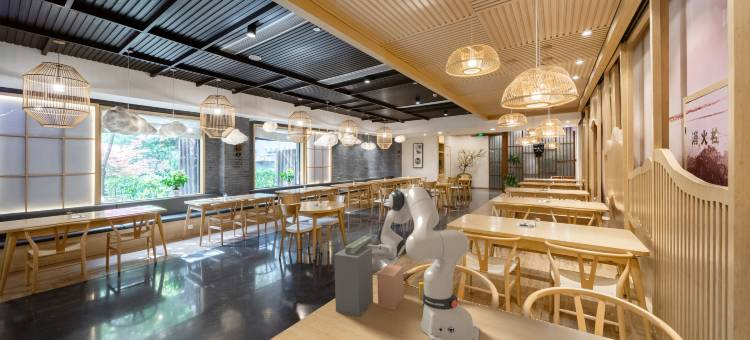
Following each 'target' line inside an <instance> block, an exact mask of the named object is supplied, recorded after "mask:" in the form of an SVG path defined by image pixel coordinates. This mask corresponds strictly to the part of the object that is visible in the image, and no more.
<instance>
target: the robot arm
mask: <svg viewBox="0 0 750 340" xmlns="http://www.w3.org/2000/svg"><path fill="white" fill-rule="evenodd" d="M388 206H389V207H390V209H388V210H387V212H386V213H385V215H384V217H383V221H382V223H381V226H380V229H379V230H378V232H377V241H378V242H380V243H381V244H377V245H375V244H369V245H367V246H366V248H372V255H374V257H375V259H376V260H378V261H380V262H382V263H383V264H386V265H388V264H390V265H394V264H395V263H396V262H397V260H398V258H399V257H400V256H401V255H402V254H403V253H404V251H406V254H407V256H408V257H409V258H410V259H411V260H413V261H419V262H427V261H428V262H429V261H433V263H432V264H431V265H430V266H429V267H427V268H426V269H425V271H424V272H423V282H424V291H423V300H422V305H423V312H422V317H421V318H422V319H421V322H420V329H421V331H423V333H425V334H426V335H427V336H428V338H429V340H479V339H480V329H479V326H478V325H477V324H476V323H475V322H473V317H472V315H471V313H470V312H469V311H468V310H467V309H465V308H464V307H463V306H462V305H460V304H459V302H458V294H454V292H453V293H452V282H453V279H454V273H455V269H456V267H457V265H458V263H459V262H460V260H461V259H462V258H463V256H464V255H466V254H467V253H468V251H469V247H470V246H469V245H470V244H469V243H470V242H469V238H468V237H467V235H466V233H464V232H463V231H462V230H457V229H456V230H454V229H444V230H443V229H441V230H434V228H436V226H437V225H438V224H439V222H440V215H439V212H438V210H437V207H436V205H435V203H434V201H433V195H432V192H431V191H430V190H429V189H427V188H424V187H423V186H414V187H412V188H404V189H394V190H392V191H390V193H389V195H388ZM411 218H412V221H413V225H414V227H413V230H412V232H411V233H410V234H409V235H408V237H407V239H406V240H405V239H404V238H403V237H402V236H401V235H399V234H397V233H396V232H395V231H393V229H392V228H391V227H392V223H394V224H397V225H398V224H399V225H400V224H402V225H403V224H406V223H407V222H409V221H410V219H411Z"/></svg>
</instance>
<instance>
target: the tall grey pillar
mask: <svg viewBox="0 0 750 340" xmlns="http://www.w3.org/2000/svg"><path fill="white" fill-rule="evenodd" d="M333 256H334V257H333V260H334V261H333V262H334V263H333V265H334V286H335V287H334V295H335V312H337V313H341V314H346V315H349V316H353V317H357V318H359V317H361V316H362V315H363V314H364V313H365V312H366V310H367V309H368V308H369V307H370V306H372V304H373V303H374V284H373V282H374V279H373V277H374V275H373V254H372V248H366V247H364V248H362V249H361V250H359V251H358V252H356V253H355V254H346V253H345V248H343V249H341V250H340V251H338V252H335V253H334V254H333Z"/></svg>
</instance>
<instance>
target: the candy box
mask: <svg viewBox="0 0 750 340" xmlns="http://www.w3.org/2000/svg"><path fill="white" fill-rule="evenodd" d="M418 289H419V290H418V291H419V292H418V299H419V300H420V301H423V291H424V281H420V282H418ZM452 293H453V294H454V283H453V281H452Z"/></svg>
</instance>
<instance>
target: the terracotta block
mask: <svg viewBox="0 0 750 340" xmlns="http://www.w3.org/2000/svg"><path fill="white" fill-rule="evenodd" d="M376 275H377V277H376V278H377V306H378V307H379V308H382V309H388V310H391V311H395V310H396V309H397V307H398V306H399V305H400V303H401V302H402V301H403V299H404V296H405V295H404V293H405V291H404V266H401V265H396V264H395V265H394V264H391V265H390V264H386V265H385V266H384V267H383V268H382V269H381V270H380V271H379V272H378V273H376Z"/></svg>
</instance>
